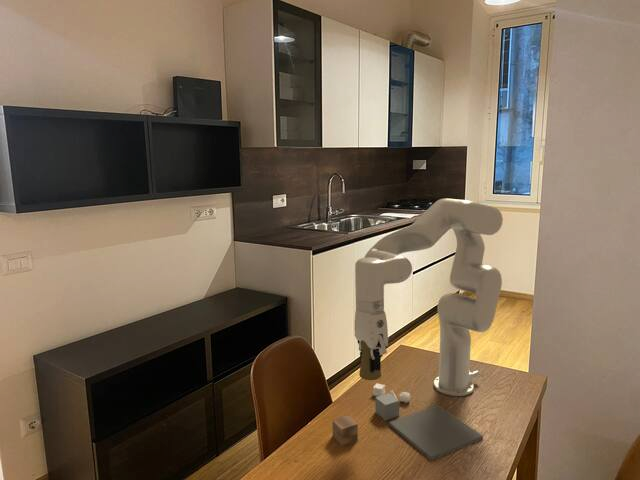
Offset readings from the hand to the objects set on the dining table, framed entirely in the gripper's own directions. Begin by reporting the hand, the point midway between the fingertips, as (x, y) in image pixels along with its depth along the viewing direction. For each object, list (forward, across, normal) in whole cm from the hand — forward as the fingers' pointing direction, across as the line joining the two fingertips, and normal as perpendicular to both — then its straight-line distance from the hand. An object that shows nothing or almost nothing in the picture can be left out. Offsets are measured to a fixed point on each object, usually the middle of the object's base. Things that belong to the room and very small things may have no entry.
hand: (370, 367), depth 133 cm
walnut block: (+19, 0, +8) cm, 21 cm away
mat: (+19, -10, -15) cm, 26 cm away
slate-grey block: (+19, +4, -9) cm, 21 cm away
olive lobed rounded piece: (+2, 0, 0) cm, 2 cm away
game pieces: (+20, +11, -15) cm, 27 cm away
